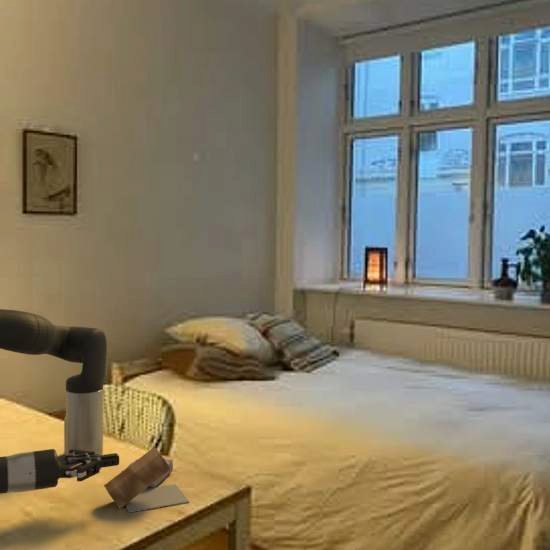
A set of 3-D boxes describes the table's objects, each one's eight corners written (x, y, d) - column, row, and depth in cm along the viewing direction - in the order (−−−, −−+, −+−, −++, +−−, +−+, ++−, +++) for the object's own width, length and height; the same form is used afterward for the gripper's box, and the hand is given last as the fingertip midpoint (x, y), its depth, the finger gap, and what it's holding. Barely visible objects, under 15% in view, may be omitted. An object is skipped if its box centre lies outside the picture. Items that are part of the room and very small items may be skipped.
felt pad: (129, 513, 132) (129, 511, 132) (118, 494, 141) (118, 493, 141) (189, 502, 138) (189, 501, 138) (175, 485, 147) (175, 484, 147)
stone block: (117, 493, 145) (158, 488, 143) (114, 472, 145) (154, 467, 143) (139, 476, 157) (177, 471, 155) (136, 457, 157) (173, 452, 155)
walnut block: (108, 493, 132) (160, 453, 137) (104, 485, 136) (154, 446, 141) (120, 508, 134) (170, 468, 138) (115, 500, 138) (164, 461, 142)
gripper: (34, 463, 121) (125, 451, 129) (28, 442, 133) (112, 432, 141) (35, 502, 122) (125, 487, 129) (28, 477, 134) (112, 465, 141)
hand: (118, 458), depth 135 cm, fingers closed
